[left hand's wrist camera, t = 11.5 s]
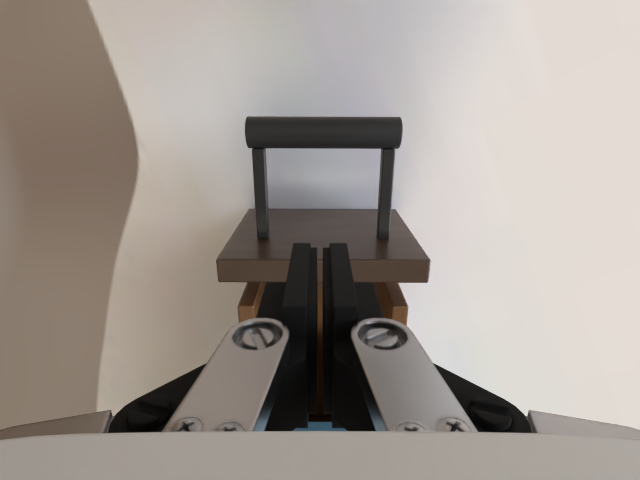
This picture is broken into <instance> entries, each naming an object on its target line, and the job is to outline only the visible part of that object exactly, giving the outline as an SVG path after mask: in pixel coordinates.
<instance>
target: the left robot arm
mask: <svg viewBox="0 0 640 480" xmlns="http://www.w3.org/2000/svg"><path fill="white" fill-rule="evenodd" d="M308 414H317V247H311V243H293V247H292V253H291V258H290V263H289V269H288V274H287V279H286V282H267V283H266V285H265V289H264V292H263V296H262V299H261V302H260V306H259V309H258V313H257V316H256V318H253V319H248V320H245V321H242V322H240V323H238V324H236V325H235V326H233V327H232V328H231V329H230V330H229V331H228V332H227V334H226V335H225V337H224V338H223V340H222V341H221V343H220V344H219V346H218V347H217V349H216V350H215V352H214V353H213V355H212V356H211V358H210V359H209V361H208V362H207V363H206V364H204V365H202V366H200V367H198V368H196V369H194V370H192V371H190V372H189V373H187V374H185V375H183V376H181V377H179V378H177V379H175V380H173V381H171V382H169V383H167V384H165V385H163V386H161V387H159V388H157V389H155V390H153V391H151V392H149V393H147V394H145V395H143V396H141V397H139V398H137V399H135V400H134V401H132V402H131V403H129V404H127V405H126V406H124V407H123V408H122V409H121V410H120V411H119V412H118V413H117V414H116V415H115V416H112V412H111V410H108V411H102V412H96V413H90V414H84V415H78V416H73V417H67V418H61V419H55V420H49V421H43V422H37V423H31V424H25V425H19V426H13V427H9V428H6V429H2V430H0V480H640V430H638V429H634V428H631V427H627V426H621V425H615V424H609V423H603V422H597V421H591V420H585V419H579V418H573V417H568V416H562V415H556V414H550V413H544V412H538V411H532V410H529V412H528V416H525V415H524V414H523V413H522V412H521V411H520V410H519V409H518V408H517V407H516V406H514V405H513V404H511V403H509V402H508V401H506V400H505V399H503V398H501V397H499V396H497V395H495V394H493V393H491V392H489V391H487V390H485V389H483V388H481V387H479V386H477V385H475V384H473V383H471V382H469V381H467V380H465V379H463V378H461V377H459V376H457V375H455V374H453V373H451V372H450V371H448V370H446V369H444V368H442V367H440V366H438V365H436V364H434V363H433V362H432V361H431V359H430V358H429V356H428V355H427V353H426V352H425V350H424V349H423V347H422V346H421V344H420V343H419V341H418V340H417V338H416V337H415V335H414V334H413V332H412V331H411V330H410V329H409V328H408V327H407V326H405V325H404V324H402V323H400V322H398V321H395V320H392V319H387V318H384V316H383V313H382V309H381V306H380V302H379V299H378V296H377V292H376V289H375V285H374V283H373V282H354V279H353V274H352V269H351V263H350V258H349V253H348V247H347V243H329V247H323V414H332V428H344V429H346V430H347V431H293V430H294V429H296V428H308Z"/></svg>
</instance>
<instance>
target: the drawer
mask: <svg viewBox="0 0 640 480" xmlns="http://www.w3.org/2000/svg"><path fill="white" fill-rule="evenodd" d="M245 136H246V143H247V146H248V148H253V149H252V157H253V175H254V192H255V209H249V210H248V212H247V213H246V215H245V216H244V218H243V219H242V221H241V222H240V224H239V225H238V227H237V229H236V230H235V232H234V233H233V235H232V236H231V238H230V239H229V241H228V242H227V244H226V246H225V247H224V249H223V250H222V252H221V253H220V255H219V256H218V258H217V260H216V263H217V273H218V281H219V282H247V285H246V287H245V290H244V292H243V295H242V297H241V300H240V302H239V305H238V315H239V323H240V322H242V321H245V320H248V319H253V318H256V316H257V313H258V309H259V306H260V302H261V299H262V296H263V292H264V289H265V285H266V283H267V282H286V279H287V274H288V269H289V263H290V258H291V253H292V247H293V243H311V247H317V414H308V422H332V414H323V247H329V243H347V247H348V253H349V258H350V263H351V269H352V274H353V279H354V282H373V283H374V285H375V289H376V292H377V296H378V299H379V302H380V306H381V309H382V313H383V316H384V318H387V319H392V320H395V321H398V322H400V323H402V324H404V325H405V326H407V316H408V305H407V303H406V300H405V298H404V296H403V293H402V291H401V289H400V286H399V284H398V283H427V282H428V279H429V270H430V259H429V257H428V256H427V255H426V253H425V252H424V250H423V249H422V247H421V246H420V244H419V243H418V241H417V240H416V239H415V237H414V236H413V234H412V233H411V231H410V230H409V228H408V227H407V226H406V224H405V223H404V221H403V220H402V218H401V217H400V215H399V214H398V212H397V211H396V210H395V209H391V201H392V187H393V173H394V159H395V149H398V148H399V147H400V145H401V140H402V120H401V118H400V117H247V118H246V122H245ZM265 148H358V149H381V163H380V181H379V198H378V209H268V191H267V168H266V149H265Z"/></svg>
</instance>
